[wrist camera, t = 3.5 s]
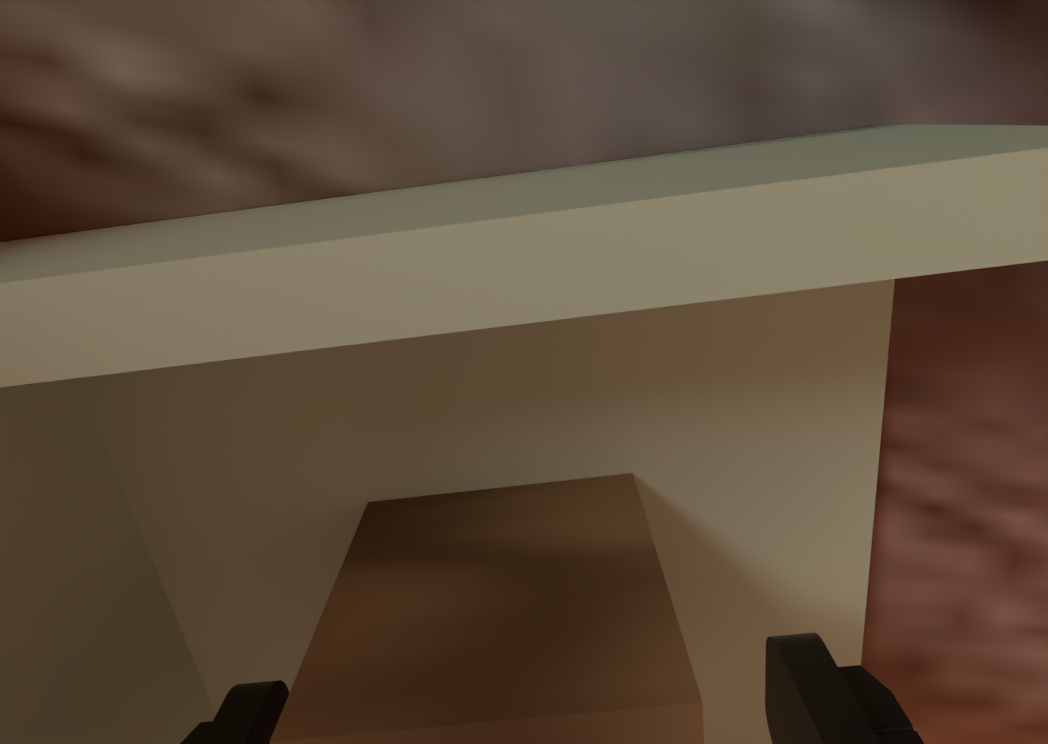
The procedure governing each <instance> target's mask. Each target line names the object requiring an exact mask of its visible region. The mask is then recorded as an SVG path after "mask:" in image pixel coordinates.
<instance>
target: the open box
mask: <svg viewBox="0 0 1048 744" xmlns="http://www.w3.org/2000/svg"><path fill="white" fill-rule="evenodd" d="M1046 260H1048V126H1038V125H947V124H886V125H879V126H871V127H863V128H856V129H848V130H841V131H833V132H826V133H818V134H811V135H803V136H796V137H788V138H781V139H773V140H766V141H758V142H750V143H743V144H735V145H728V146H720V147H713V148H705V149H698V150H690V151H683V152H675V153H668V154H660V155H652V156H645V157H637V158H630V159H622V160H615V161H607V162H600V163H592V164H585V165H577V166H570V167H562V168H554V169H547V170H539V171H532V172H524V173H517V174H509V175H502V176H494V177H487V178H479V179H472V180H464V181H457V182H449V183H441V184H434V185H426V186H419V187H411V188H404V189H396V190H389V191H381V192H374V193H366V194H359V195H351V196H343V197H336V198H328V199H321V200H313V201H306V202H298V203H291V204H283V205H276V206H268V207H261V208H253V209H246V210H238V211H230V212H223V213H215V214H208V215H200V216H193V217H185V218H178V219H170V220H163V221H155V222H148V223H140V224H132V225H125V226H117V227H110V228H102V229H95V230H87V231H80V232H72V233H65V234H57V235H50V236H42V237H34V238H27V239H19V240H12V241H4V242H0V744H180V743H181V742H182V741H183V740H184V739H185V738H186V737H187V736H188V735H189V734H190V733H191V732H192V731H193V730H194V728H195V727H196V726H197V725H198V724H199V723H200V722H209V721H213V720H214V718H215V716H216V714H217V712H218V710H219V708H220V706H221V705H222V703H223V701H224V699H225V697H226V695H227V693H228V692H229V690H230V689H231V688H232V687H233V686H234V685H237V684H244V683H255V682H266V681H277V680H281V681H283V682H284V683H285V684H286V686H287V688H288V690H289V693H290V691H291V688H292V686H293V683H294V681H295V678H296V676H297V673H298V671H299V669H300V666H301V664H302V661H303V659H304V656H305V654H306V652H307V649H308V647H309V644H310V642H311V639H312V637H313V635H314V632H315V630H316V627H317V625H318V622H319V620H320V617H321V615H322V613H323V610H324V608H325V605H326V603H327V600H328V598H329V596H330V593H331V591H332V588H333V586H334V583H335V581H336V578H337V576H338V574H339V571H340V569H341V566H342V564H343V561H344V559H345V557H346V554H347V552H348V549H349V547H350V544H351V542H352V540H353V537H354V535H355V532H356V530H357V527H358V525H359V522H360V520H361V518H362V515H363V513H364V510H365V508H366V505H367V503H368V502H372V501H382V500H391V499H400V498H409V497H418V496H427V495H436V494H446V493H455V492H464V491H473V490H482V489H491V488H501V487H510V486H519V485H528V484H537V483H546V482H555V481H565V480H574V479H583V478H592V477H601V476H610V475H620V474H629V473H633V476H634V479H635V482H636V486H637V489H638V492H639V496H640V499H641V502H642V505H643V509H644V512H645V515H646V518H647V522H648V525H649V528H650V532H651V535H652V538H653V541H654V545H655V548H656V551H657V554H658V558H659V561H660V564H661V568H662V571H663V574H664V577H665V581H666V584H667V587H668V591H669V594H670V597H671V600H672V604H673V607H674V610H675V613H676V617H677V620H678V623H679V627H680V630H681V633H682V636H683V640H684V643H685V646H686V649H687V653H688V656H689V659H690V663H691V666H692V669H693V672H694V676H695V679H696V682H697V685H698V689H699V692H700V695H701V699H702V702H703V728H704V744H773V743H772V740H771V736H770V732H769V728H768V724H767V718H766V711H765V663H766V640H767V638H768V637H770V636H781V635H792V634H802V633H813V632H815V633H817V634H818V635H819V636H820V637H821V639H822V640H823V642H824V643H825V645H826V647H827V649H828V651H829V652H830V654H831V656H832V658H833V659H834V661H835V663H836V665H837V666H838V667H843V666H854V665H860V666H861V658H862V647H863V635H864V624H865V613H866V601H867V590H868V579H869V567H870V556H871V544H872V533H873V522H874V510H875V499H876V488H877V476H878V465H879V453H880V442H881V431H882V419H883V408H884V397H885V385H886V374H887V363H888V351H889V340H890V328H891V317H892V306H893V294H894V283H895V279H898V278H906V277H914V276H923V275H931V274H939V273H947V272H955V271H964V270H972V269H980V268H988V267H997V266H1005V265H1013V264H1021V263H1030V262H1038V261H1046Z"/></svg>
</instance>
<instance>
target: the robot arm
mask: <svg viewBox="0 0 1048 744" xmlns="http://www.w3.org/2000/svg"><path fill="white" fill-rule="evenodd" d="M288 695H289V690H288V688H287V686H286V684H285V683H284V682H283V681H281V680H277V681H266V682H255V683H244V684H237V685H234V686H233V687H232V688H231V689H230V690H229V692H228V693H227V695H226V697H225V699H224V701H223V703H222V705H221V706H220V708H219V710H218V712H217V714H216V716H215V718H214V720H213V721H209V722H200V723H199V724H198V725H197V726H196V727H195V728H194V730H193V731H192V732H191V733H190V734H189V735H188V736H187V737H186V738H185V739H184V740H183V741H182V742H181V743H180V744H270V743H269V742H270V739H271V737H272V734H273V732H274V729H275V727H276V725H277V722H278V720H279V717H280V715H281V712H282V710H283V708H284V705H285V703H286V700H287V698H288ZM765 711H766V718H767V724H768V728H769V732H770V736H771V740H772V743H773V744H924V743H923V741H922V739H921V738H920V736H919V735H918V733H917V732H916V731H915V732H914V730H913V727H912V724H911V722H910V721H909V719H908V717H907V716H906V714H905V713H904V711H903V710H902V708H901V706H900V705H899V703H898V702H897V700H896V699H895V697H894V695H893V694H892V692H891V691H890V690H889V689H887V688H886V687H885V686H884V685H883V684H881V683H880V682H879V681H878V680H877V679H876V678H874V677H873V676H872V675H871V674H870V673H869V672H867V671H866V670H865V669H864V668H863V667H861V666H860V665H854V666H843V667H838V666H837V665H836V663H835V661H834V659H833V658H832V656H831V654H830V652H829V651H828V649H827V647H826V645H825V643H824V642H823V640H822V639H821V637H820V636H819V635H818V634H817V633H815V632H813V633H802V634H792V635H781V636H770V637H768V638H767V640H766V663H765Z"/></svg>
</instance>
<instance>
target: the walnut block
mask: <svg viewBox="0 0 1048 744" xmlns="http://www.w3.org/2000/svg"><path fill="white" fill-rule="evenodd" d="M269 743H270V744H704V728H703V702H702V699H701V695H700V692H699V689H698V685H697V682H696V679H695V676H694V672H693V669H692V666H691V663H690V659H689V656H688V653H687V649H686V646H685V643H684V640H683V636H682V633H681V630H680V627H679V623H678V620H677V617H676V613H675V610H674V607H673V604H672V600H671V597H670V594H669V591H668V587H667V584H666V581H665V577H664V574H663V571H662V568H661V564H660V561H659V558H658V554H657V551H656V548H655V545H654V541H653V538H652V535H651V532H650V528H649V525H648V522H647V518H646V515H645V512H644V509H643V505H642V502H641V499H640V496H639V492H638V489H637V486H636V482H635V479H634V476H633V473H629V474H620V475H610V476H601V477H592V478H583V479H574V480H565V481H555V482H546V483H537V484H528V485H519V486H510V487H501V488H491V489H482V490H473V491H464V492H455V493H446V494H436V495H427V496H418V497H409V498H400V499H391V500H382V501H372V502H368V503H367V505H366V508H365V510H364V513H363V515H362V518H361V520H360V522H359V525H358V527H357V530H356V532H355V535H354V537H353V540H352V542H351V544H350V547H349V549H348V552H347V554H346V557H345V559H344V561H343V564H342V566H341V569H340V571H339V574H338V576H337V578H336V581H335V583H334V586H333V588H332V591H331V593H330V596H329V598H328V600H327V603H326V605H325V608H324V610H323V613H322V615H321V617H320V620H319V622H318V625H317V627H316V630H315V632H314V635H313V637H312V639H311V642H310V644H309V647H308V649H307V652H306V654H305V656H304V659H303V661H302V664H301V666H300V669H299V671H298V673H297V676H296V678H295V681H294V683H293V686H292V688H291V691H290V693H289V695H288V698H287V700H286V703H285V705H284V708H283V710H282V712H281V715H280V717H279V720H278V722H277V725H276V727H275V729H274V732H273V734H272V737H271V739H270V742H269Z"/></svg>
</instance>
